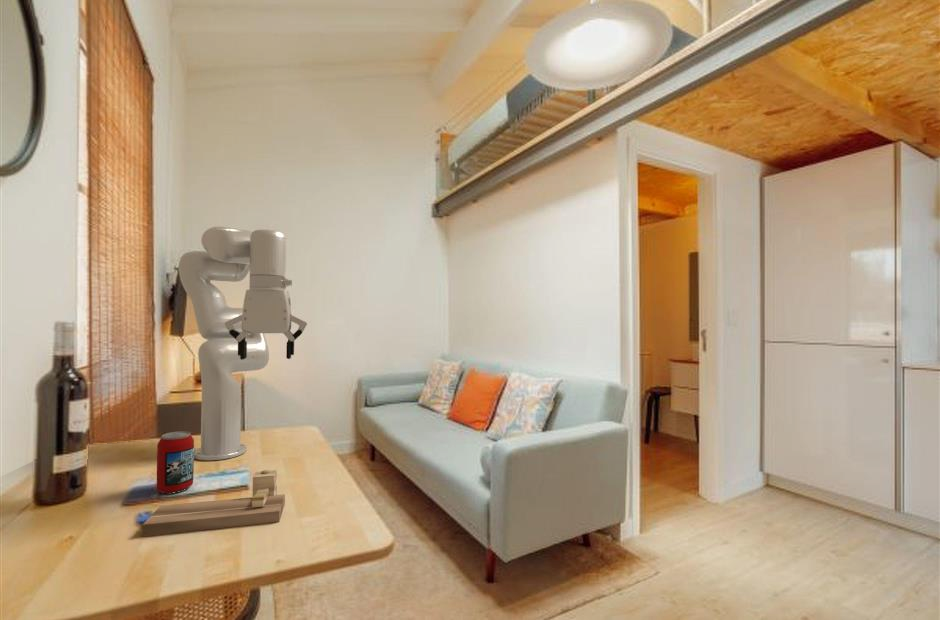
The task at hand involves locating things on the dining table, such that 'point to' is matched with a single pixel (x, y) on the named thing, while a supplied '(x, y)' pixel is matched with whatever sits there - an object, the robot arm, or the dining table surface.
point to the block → (263, 486)
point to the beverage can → (175, 462)
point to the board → (212, 515)
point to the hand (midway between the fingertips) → (266, 358)
